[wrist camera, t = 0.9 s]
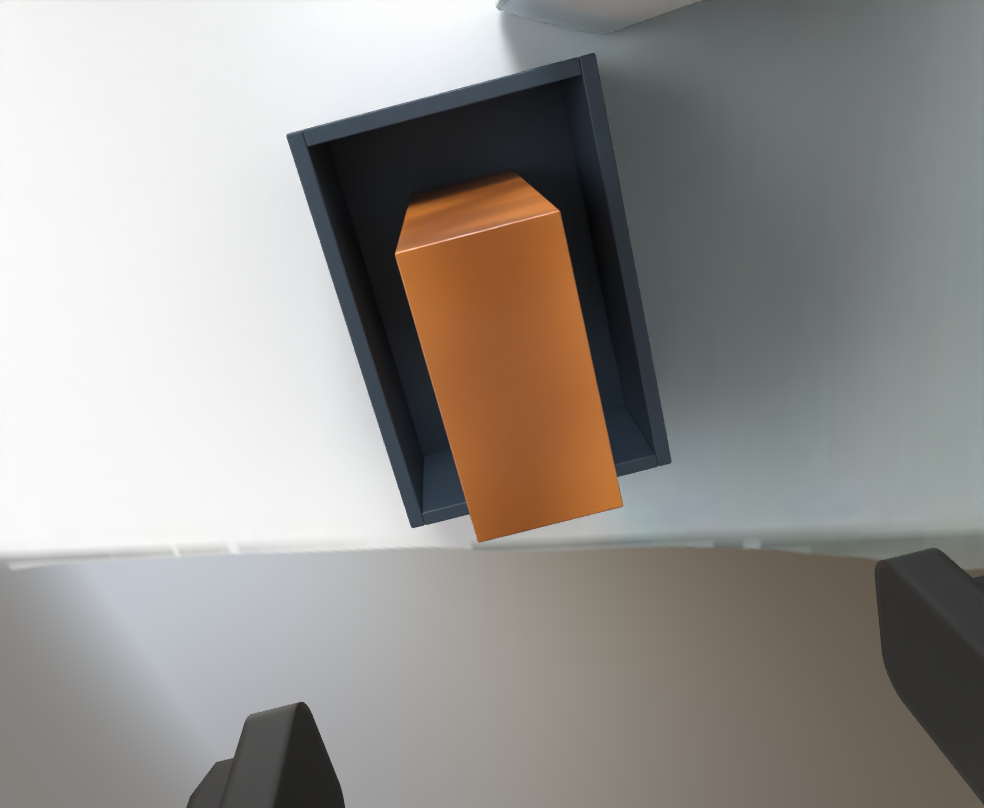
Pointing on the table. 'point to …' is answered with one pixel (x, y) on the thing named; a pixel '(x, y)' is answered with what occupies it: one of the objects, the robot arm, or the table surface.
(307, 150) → the tote
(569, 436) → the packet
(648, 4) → the skincare box
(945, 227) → the table surface
